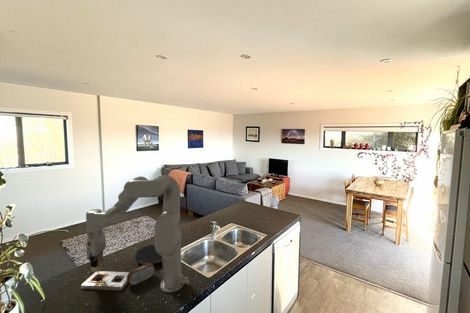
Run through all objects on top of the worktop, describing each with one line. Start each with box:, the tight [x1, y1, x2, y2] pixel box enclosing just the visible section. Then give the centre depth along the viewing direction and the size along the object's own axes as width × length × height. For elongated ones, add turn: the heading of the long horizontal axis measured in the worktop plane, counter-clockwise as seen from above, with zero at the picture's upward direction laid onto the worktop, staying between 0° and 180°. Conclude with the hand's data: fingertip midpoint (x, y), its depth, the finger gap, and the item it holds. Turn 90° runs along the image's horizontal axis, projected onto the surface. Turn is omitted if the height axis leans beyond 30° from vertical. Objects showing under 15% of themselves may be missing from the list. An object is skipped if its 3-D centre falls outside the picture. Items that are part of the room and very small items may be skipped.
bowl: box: [133, 243, 163, 266], centre depth 145 cm, size 22×22×5 cm
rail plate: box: [80, 270, 130, 291], centre depth 123 cm, size 22×12×2 cm, turn 87°
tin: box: [127, 263, 156, 286], centre depth 123 cm, size 15×3×8 cm, turn 135°
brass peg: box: [90, 252, 104, 273], centre depth 122 cm, size 4×4×9 cm
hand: (96, 264), depth 122 cm, fingers closed on brass peg, 4 cm apart
